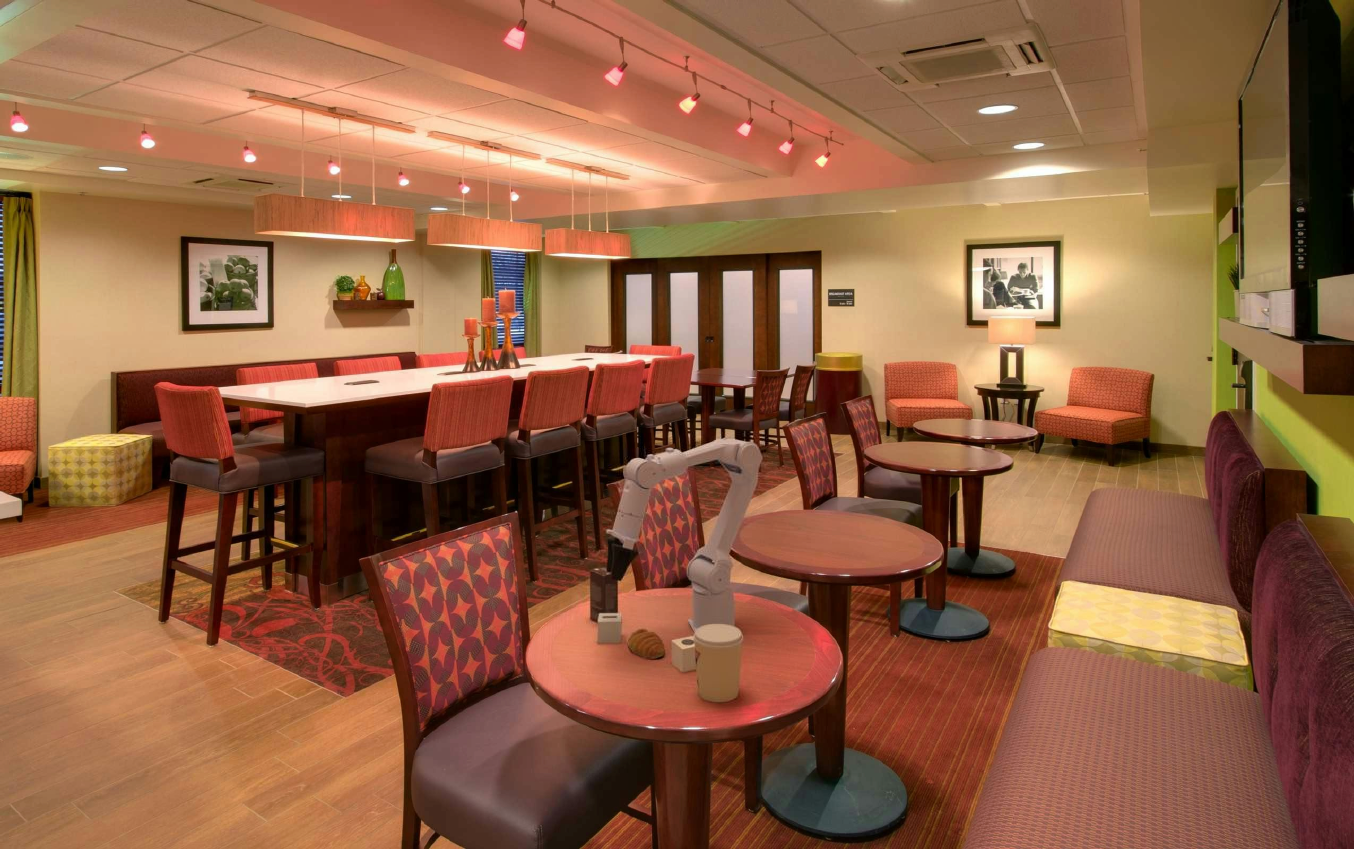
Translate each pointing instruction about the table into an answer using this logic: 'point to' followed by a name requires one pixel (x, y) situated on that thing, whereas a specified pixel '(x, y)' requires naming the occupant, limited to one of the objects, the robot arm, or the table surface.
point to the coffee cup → (718, 661)
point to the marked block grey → (609, 628)
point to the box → (602, 593)
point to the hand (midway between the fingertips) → (613, 576)
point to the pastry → (646, 644)
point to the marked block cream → (684, 654)
